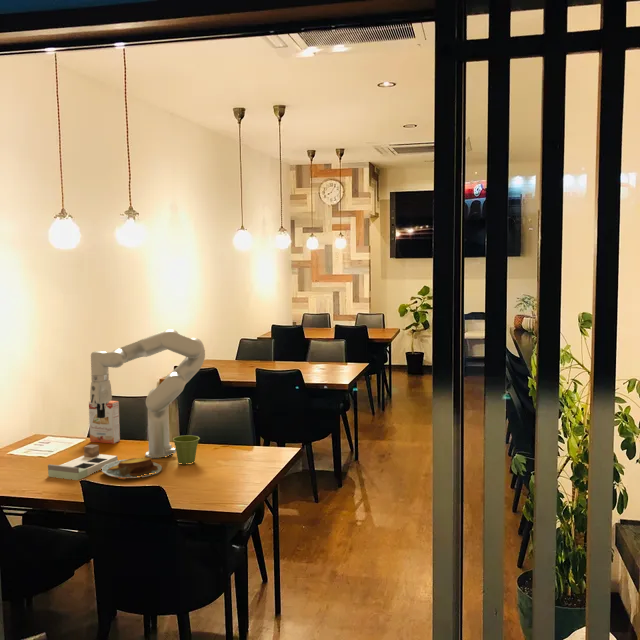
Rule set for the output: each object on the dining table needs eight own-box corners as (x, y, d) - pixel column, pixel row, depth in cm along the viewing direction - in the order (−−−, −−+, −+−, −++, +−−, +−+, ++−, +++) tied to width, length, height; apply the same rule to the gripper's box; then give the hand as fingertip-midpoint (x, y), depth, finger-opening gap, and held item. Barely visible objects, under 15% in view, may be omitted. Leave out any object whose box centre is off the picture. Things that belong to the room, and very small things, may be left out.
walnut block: (99, 454, 300) (98, 445, 299) (92, 457, 295) (92, 447, 295) (90, 454, 301) (90, 444, 301) (84, 456, 297) (83, 446, 297)
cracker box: (89, 442, 334) (88, 401, 332) (96, 439, 339) (95, 399, 338) (113, 444, 330) (112, 402, 328) (120, 441, 335) (119, 400, 334)
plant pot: (197, 466, 291) (197, 441, 290) (170, 467, 291) (170, 441, 290) (202, 459, 303) (201, 435, 302) (176, 459, 303) (175, 435, 302)
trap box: (117, 462, 298) (117, 451, 298) (77, 480, 273) (77, 468, 273) (90, 459, 303) (89, 448, 303) (48, 476, 278) (47, 465, 278)
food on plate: (131, 461, 300) (131, 447, 300) (174, 469, 288) (174, 454, 288) (87, 477, 278) (87, 462, 277) (132, 486, 266) (131, 470, 265)
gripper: (96, 381, 294) (97, 421, 296) (117, 376, 308) (118, 414, 310) (82, 380, 297) (83, 420, 298) (103, 375, 311) (104, 413, 312)
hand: (101, 417), depth 304 cm, fingers closed
